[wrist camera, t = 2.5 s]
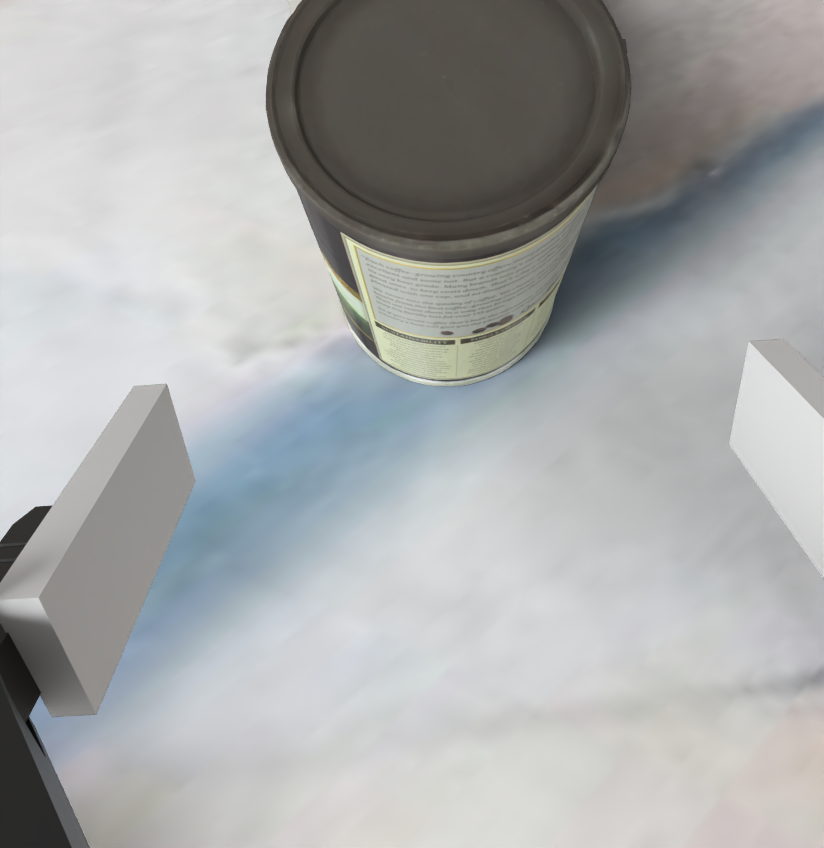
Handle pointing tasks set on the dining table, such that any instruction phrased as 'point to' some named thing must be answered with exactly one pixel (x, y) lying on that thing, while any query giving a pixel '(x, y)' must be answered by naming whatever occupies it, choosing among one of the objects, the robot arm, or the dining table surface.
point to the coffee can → (447, 164)
